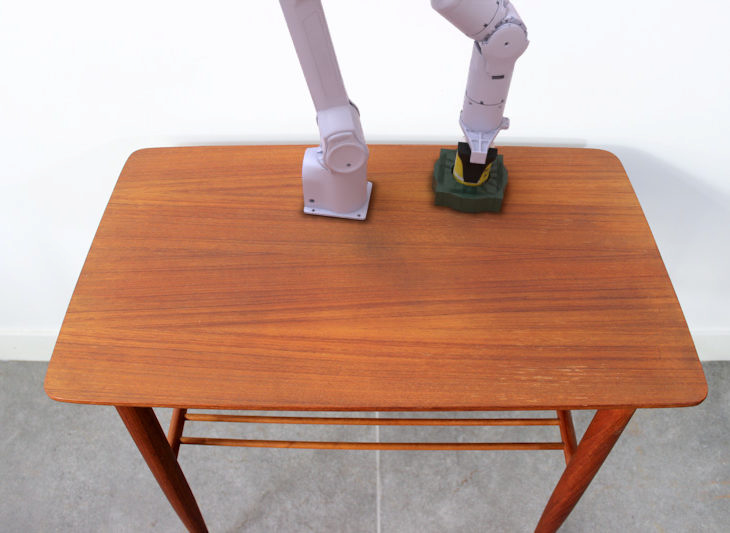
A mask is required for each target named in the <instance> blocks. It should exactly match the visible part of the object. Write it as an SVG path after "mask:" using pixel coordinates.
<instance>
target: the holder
mask: <svg viewBox="0 0 730 533" xmlns="http://www.w3.org/2000/svg"><path fill="white" fill-rule="evenodd" d="M457 149H458V148H456V149H455V148H453V149H451V148H444V147H443V148H442V147H441V148H440V150H439V158H438V159H437V160H436V161H435V162H434V164H433V172H432V181H431V189H432V192H433V193H434V203H433V206H437V207H447V208H451V209H453V210H455V211H458V212H463V213H471V214H476V213H481V212H491V213H500V212H501V208H502V204H503V200H504V196H505V194H506V190H507V185H508V182H509V175H508V174H509V171H508V169H507V168H506V165H505V164H504V154H500V153H498V155H497V158H496V159H495V161H493V162H492V163H491V167H490V171H489V175H488V179H487V182H486V183H484V184H483V185H480V186H466V185H463V184H461V183H459V182H457V181H456V180H455V179H454V178H453V171H454V166H455V161H456V155H457Z"/></svg>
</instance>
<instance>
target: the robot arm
mask: <svg viewBox="0 0 730 533" xmlns="http://www.w3.org/2000/svg"><path fill="white" fill-rule="evenodd" d="M429 1H430V6H431V8H432V9H433V10H434V11H435V12H436V13H438V15H440V16H441V17H442V18H444V19H445V20H446V21H447V22H449V23H450V24H451V25H452V26H453V27H455V28H456V29H457V30H458V31H460V32H461V33H462V34H464V35H465V36H466V38H468V39H471V40H474V41H473V45H472V51H471V57H470V61H469V66H468V72H467V79H466V86H465V91H464V96H463V103H462V109H461V110H460V111H459V112H460V114H459V118H458V124H459V127H460V129H461V132H462V133H463V136H464V135H465V137H466V140H467V142H468V143H467V142H459V141H458V142H457V148H456V149H457V152H458V156H459V158H460V160H461V162H462V167H463V180H464V182H467V183H478V181H479V180H480V178H481V176H482V174H483V172H484V171H485V169H486V168H487V167H488V165H489V164H491V163H492V162H493V161H495V159H496V158H497V155H498V154H499V153H498V151H499V150H498V149H499V148H498V147H495V148H490V145H491V144H492V142H494V141H495V139H496V137H497V136H498V135H499V133H500V131H502V130H504V131H505V130H509V128H510V125H511V124H510V123H511V122H510V118H509V117H507V116H504V113H505V110H506V109H505V108H506V104H507V100H508V95H509V91H510V87H511V82H512V79H513V74H514V71H515V65H516V62H517V60H518V59H519V58H521V56H522V55H523V54H525V52H526V50H527V49H528V47H529V46H530V42H531V41H530V40H529V39H528V34H529V33H528V31H527V30H528V28H527V25H526V24H525V22H524V21H523V19H522V18H521V16H520V14H519V12H518V11H517V9H516V7H515V6H514V4H513V3H512V2H511V1H510V0H429ZM278 2H279V5H280V8H281V11H282V14H283V17H284V20H285V24H286V27H287V29H288V32H289V35H290V38H291V42H292V44H293V47H294V49H295V53H296V56H297V59H298V62H299V66H300V68H301V70H302V73H303V76H304V77H303V78H304V79H305V82H306V86H307V88H308V89H307V90H308V92H309V94H310V98H311V100H312V104H313V107H314V109H315V112H316V114H315V121H316V125H317V127H318V133H319V139H320V143H319V145H318V146H315V147H307V148H306V149H305V152H304V154H303V160H302V166H301V183H302V184H301V185H302V193H303V204H304V207H303V212H304V214H308V215H315V216H316V215H317V216H325V217H334V218H340V219H341V218H342V219H350V220H360V221H364V220H366V218H367V215H368V209H369V204H370V199H371V193H372V188H373V183H372V181H368V160H369V158H370V150H369V147H368V144H367V143H366V139H365V133H364V131H363V127H362V126H363V125H362V122H361V114H360V113H361V112H360V109H359V107H358V105H356V103H355V102H353V101H352V100H351V98H350V97H349V94H348V91H347V89H346V85H345V82H344V78H343V75H342V71H341V68H340V63H339V60H338V57H337V54H336V49H335V45H334V42H333V39H332V35H331V32H330V28H329V24H328V21H327V17H326V14H325V13H326V12H325V10H324V6H323V3H322V0H278Z"/></svg>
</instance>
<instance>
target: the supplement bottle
mask: <svg viewBox="0 0 730 533" xmlns="http://www.w3.org/2000/svg"><path fill="white" fill-rule="evenodd" d="M458 142H467V140H466V137H465V135H464V134H463V136H462V137H461V138H460V139H459V141H458ZM467 143H468V142H467ZM490 148H496V146H495V142H494V141H493V142H492V144H491V145H490ZM490 167H491V164H489V165H488V167H487V168H486V169H485V171H484V172H483V174H482V176H481V178H480V180H479V181H478V183H467V182H464V180H463V167H462V162H461V160H460V158H459V156H458V152H457V155H456V161H455V166H454V171H453V178H454V179H455V180H456V181H457V182H459V183H461V184H463V185H466V186H480V185H483V184H484V183H486V182H487V179H488V175H489V171H490Z"/></svg>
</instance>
